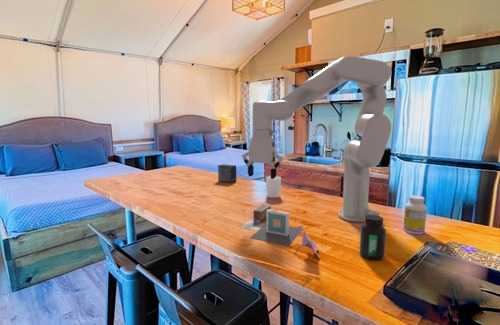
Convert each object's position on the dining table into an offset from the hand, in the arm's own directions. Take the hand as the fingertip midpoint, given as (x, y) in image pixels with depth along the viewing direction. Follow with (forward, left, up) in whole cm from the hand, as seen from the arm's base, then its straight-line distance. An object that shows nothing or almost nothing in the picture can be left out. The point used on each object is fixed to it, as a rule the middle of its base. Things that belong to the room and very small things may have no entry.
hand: (261, 177), depth 112 cm
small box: (+49, -52, -18) cm, 74 cm away
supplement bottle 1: (-42, +13, -18) cm, 48 cm away
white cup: (+9, -33, -18) cm, 39 cm away
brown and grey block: (0, +4, -18) cm, 18 cm away
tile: (-11, +11, -17) cm, 23 cm away
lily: (-25, +21, -18) cm, 37 cm away
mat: (-11, +11, -18) cm, 24 cm away
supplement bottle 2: (-54, -13, -18) cm, 59 cm away
